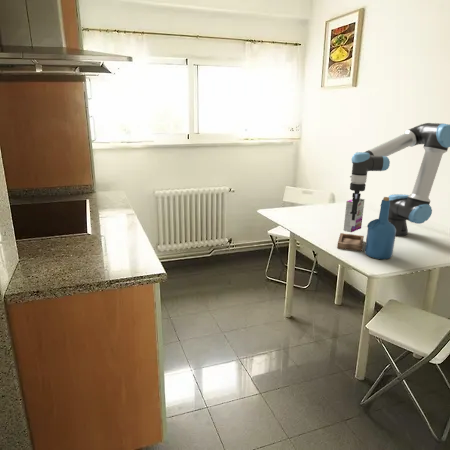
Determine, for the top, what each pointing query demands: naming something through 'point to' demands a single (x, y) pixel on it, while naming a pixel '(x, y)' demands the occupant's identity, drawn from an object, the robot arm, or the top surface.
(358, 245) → the tray
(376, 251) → the wine bottle
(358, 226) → the candy bar box
